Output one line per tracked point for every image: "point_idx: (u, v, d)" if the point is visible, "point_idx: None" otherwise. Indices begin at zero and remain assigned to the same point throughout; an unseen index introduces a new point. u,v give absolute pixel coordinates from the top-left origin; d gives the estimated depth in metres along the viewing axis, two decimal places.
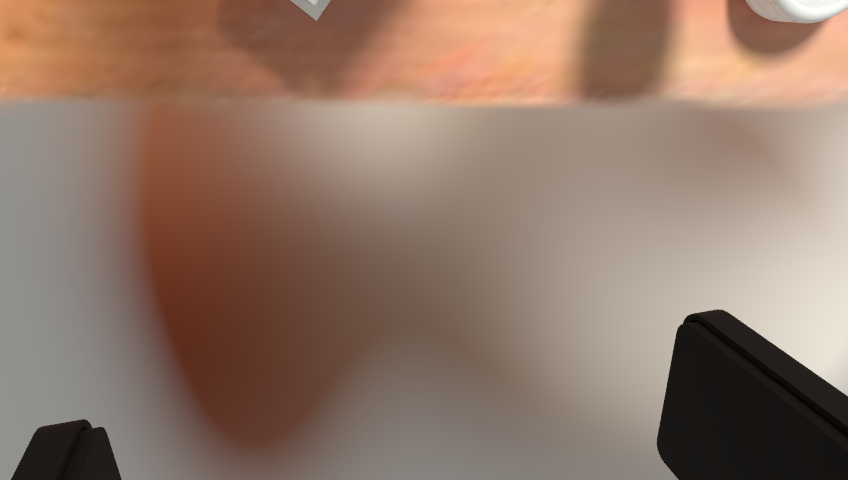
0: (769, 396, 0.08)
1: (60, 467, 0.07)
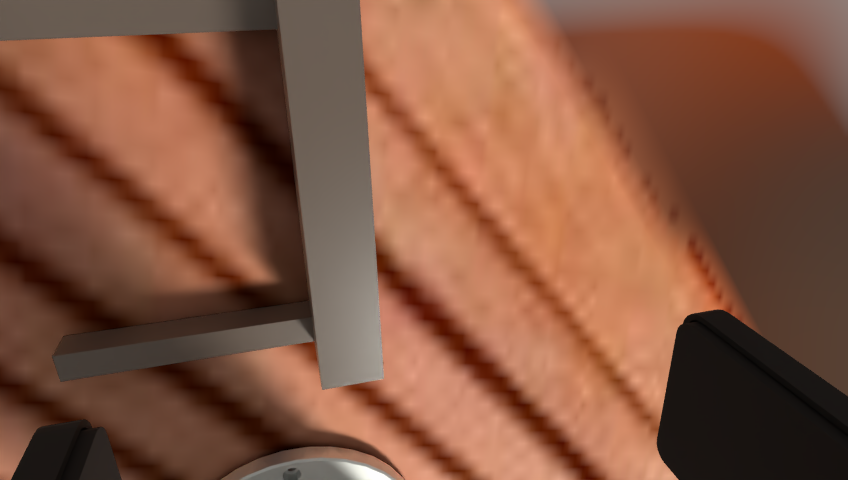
0: (769, 396, 0.08)
1: (60, 467, 0.07)
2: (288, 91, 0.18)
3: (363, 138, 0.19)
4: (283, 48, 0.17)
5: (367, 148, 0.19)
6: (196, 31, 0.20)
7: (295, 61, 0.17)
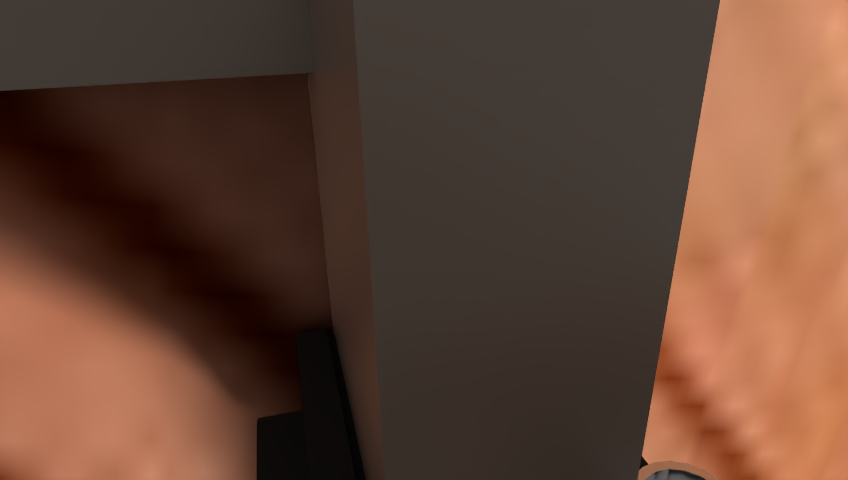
0: None
1: (330, 358, 0.09)
2: (380, 363, 0.04)
3: (624, 472, 0.05)
4: (370, 202, 0.04)
5: None
6: (55, 84, 0.06)
7: (418, 253, 0.04)
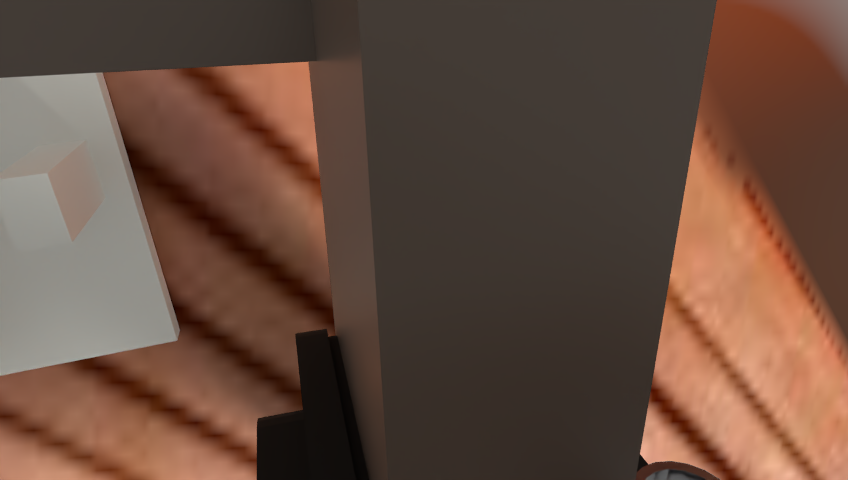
0: None
1: (330, 358, 0.09)
2: (382, 342, 0.04)
3: (625, 455, 0.05)
4: (372, 180, 0.04)
5: (629, 478, 0.06)
6: (59, 71, 0.06)
7: (419, 232, 0.04)
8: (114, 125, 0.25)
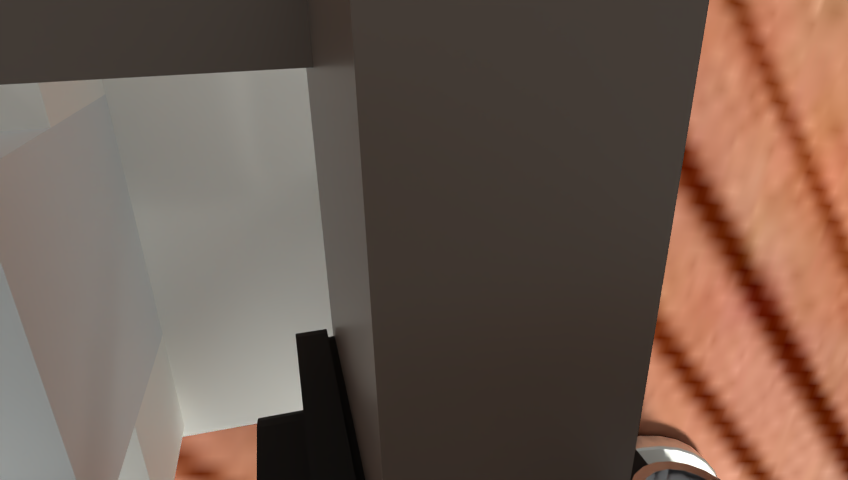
0: None
1: (330, 358, 0.09)
2: (377, 349, 0.04)
3: (619, 460, 0.05)
4: (366, 190, 0.04)
5: None
6: (57, 78, 0.06)
7: (413, 241, 0.04)
8: None
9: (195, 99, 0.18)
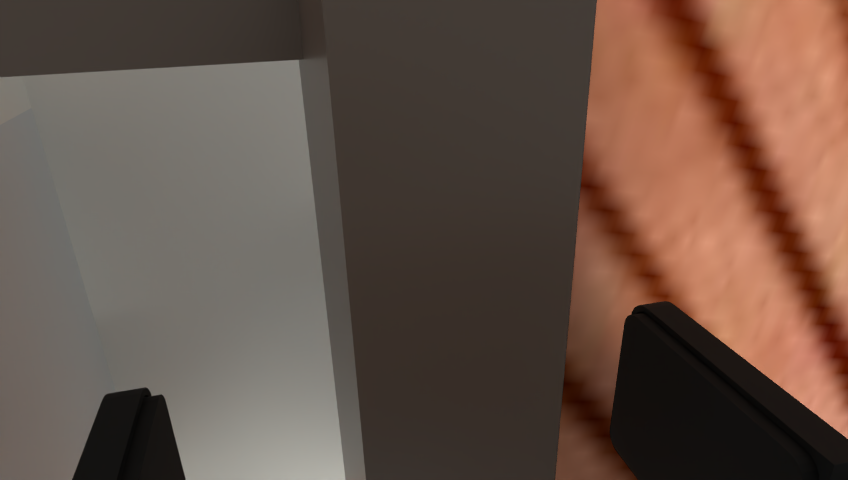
0: (702, 383, 0.08)
1: (131, 427, 0.07)
2: (349, 275, 0.06)
3: (551, 376, 0.07)
4: (338, 147, 0.05)
5: (557, 396, 0.07)
6: (90, 69, 0.07)
7: (374, 187, 0.05)
8: None
9: (155, 114, 0.14)
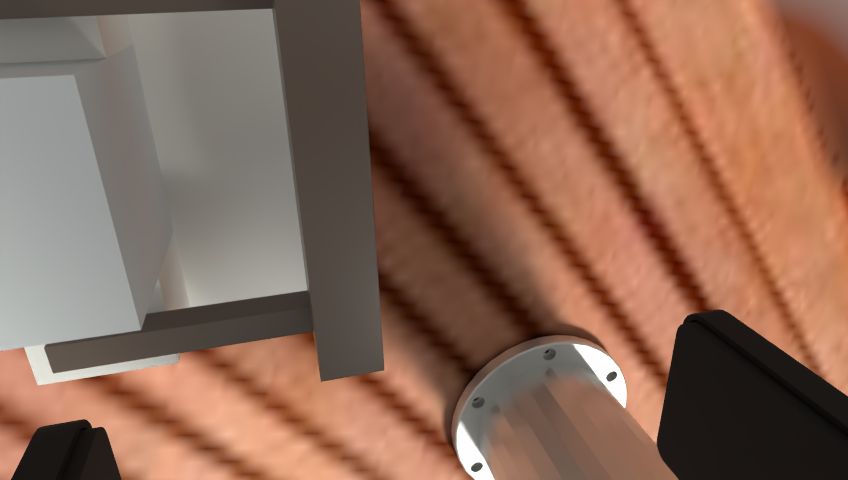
0: (769, 396, 0.08)
1: (60, 467, 0.07)
2: (284, 72, 0.17)
3: (362, 122, 0.18)
4: (278, 27, 0.17)
5: (366, 132, 0.18)
6: (188, 10, 0.19)
7: (290, 41, 0.17)
8: None
9: (198, 49, 0.25)
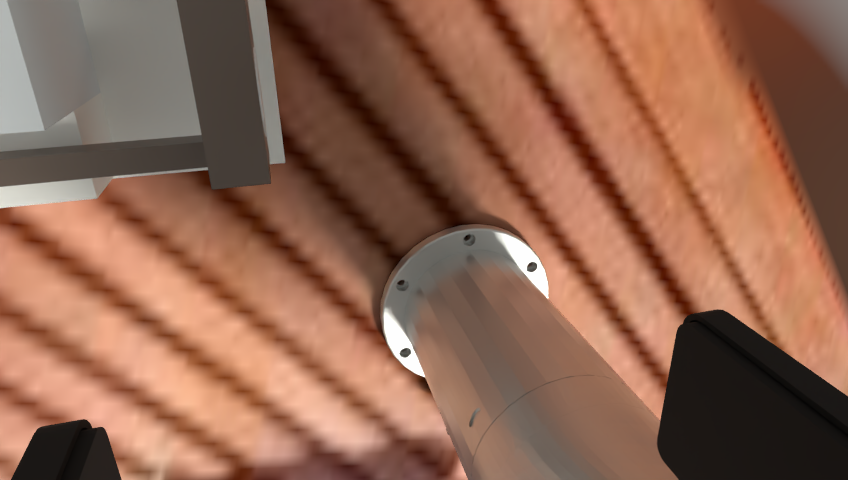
0: (769, 396, 0.08)
1: (60, 467, 0.07)
2: None
3: None
4: None
5: None
6: None
7: None
8: None
9: None
